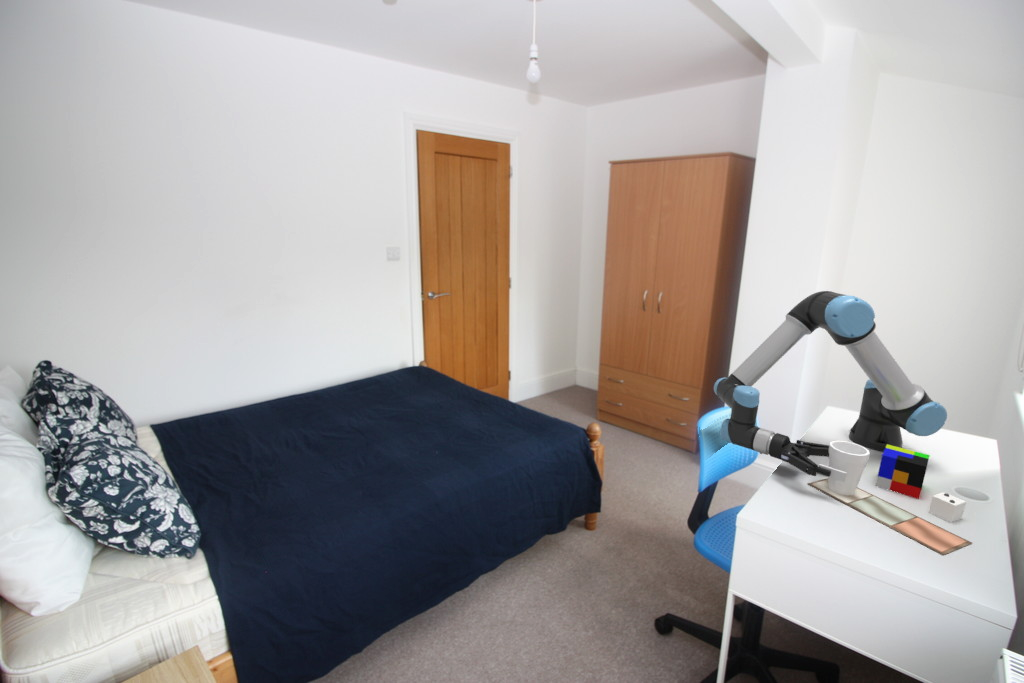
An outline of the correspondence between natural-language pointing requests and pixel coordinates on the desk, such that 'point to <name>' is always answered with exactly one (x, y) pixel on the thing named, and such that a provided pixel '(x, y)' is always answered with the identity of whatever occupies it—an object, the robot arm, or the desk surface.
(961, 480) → the desk surface
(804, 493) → the desk surface
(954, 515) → the die
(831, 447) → the foam cup
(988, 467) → the desk surface
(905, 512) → the color swatch strip
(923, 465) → the puzzle toy
